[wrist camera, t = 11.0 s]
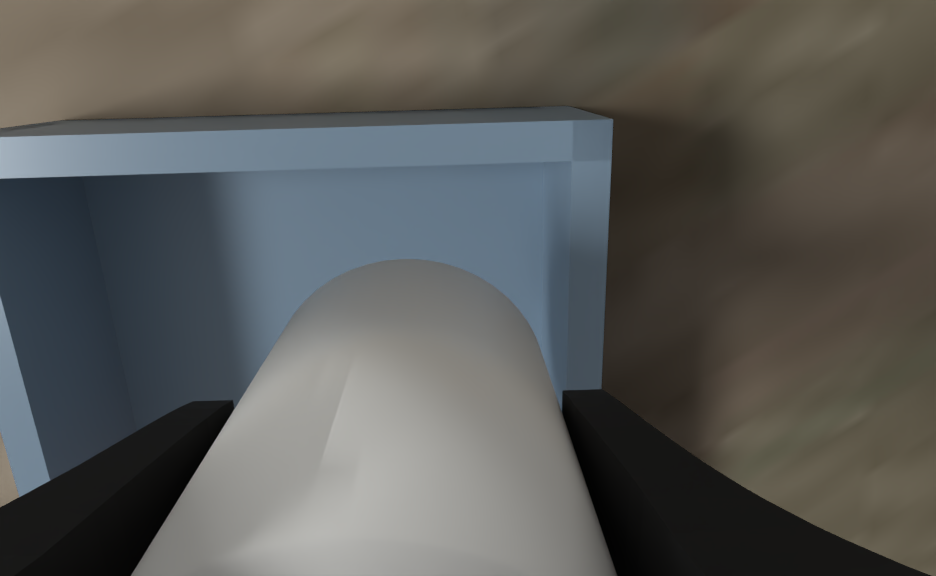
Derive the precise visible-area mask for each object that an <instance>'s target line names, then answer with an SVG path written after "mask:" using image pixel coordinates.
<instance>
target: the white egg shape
mask: <svg viewBox="0 0 936 576" xmlns="http://www.w3.org/2000/svg"><path fill="white" fill-rule="evenodd" d="M131 576H617V574H616V571H615V568H614V565H613V562H612V559H611V556H610V553H609V550H608V547H607V544H606V541H605V538H604V535H603V532H602V529H601V526H600V523H599V520H598V517H597V514H596V512H595V509H594V506H593V503H592V500H591V497H590V494H589V491H588V488H587V485H586V482H585V479H584V476H583V473H582V470H581V467H580V464H579V461H578V458H577V455H576V452H575V449H574V447H573V444H572V441H571V438H570V435H569V432H568V429H567V426H566V423H565V420H564V417H563V414H562V411H561V408H560V405H559V402H558V399H557V396H556V393H555V390H554V387H553V384H552V382H551V379H550V376H549V373H548V370H547V367H546V364H545V361H544V358H543V355H542V352H541V349H540V346H539V343H538V341H537V338H536V336H535V334H534V332H533V330H532V328H531V326H530V325H529V323H528V321H527V320H526V319H525V317H524V316H523V314H522V313H521V312H520V310H519V309H518V308H517V307H516V306H515V305H514V304H513V303H512V302H511V301H510V299H509V298H508V297H507V296H505V295H504V294H503V293H502V292H500V291H499V290H498V289H497V288H495V287H494V286H493V285H491V284H490V283H488V282H486V281H485V280H483V279H482V278H480V277H478V276H476V275H474V274H472V273H470V272H467V271H465V270H463V269H461V268H458V267H454V266H451V265H448V264H444V263H440V262H434V261H428V260H420V259H396V260H385V261H380V262H376V263H371V264H366V265H364V266H361V267H358V268H355V269H352V270H349V271H347V272H345V273H343V274H341V275H339V276H337V277H335V278H334V279H332V280H330V281H329V282H327V283H326V284H325V285H323V286H322V287H320V288H319V289H317V290H316V291H315V292H314V293H313V294H312V295H311V296H310V297H309V298H308V299H306V300H305V301H304V302H303V304H302V305H301V306H300V307H299V308H298V310H297V311H296V312H295V313H294V315H293V316H292V318H291V319H290V321H289V322H288V324H287V326H286V327H285V329H284V330H283V332H282V334H281V335H280V337H279V338H278V340H277V342H276V343H275V345H274V347H273V348H272V350H271V351H270V353H269V355H268V356H267V358H266V359H265V361H264V363H263V364H262V366H261V367H260V369H259V371H258V372H257V374H256V375H255V377H254V379H253V380H252V382H251V383H250V385H249V387H248V388H247V390H246V392H245V393H244V395H243V396H242V398H241V400H240V401H239V403H238V404H237V406H236V408H235V409H234V411H233V412H232V414H231V416H230V417H229V419H228V420H227V422H226V424H225V425H224V427H223V428H222V430H221V432H220V433H219V435H218V436H217V438H216V440H215V441H214V443H213V445H212V446H211V448H210V449H209V451H208V453H207V454H206V456H205V457H204V459H203V461H202V462H201V464H200V465H199V467H198V469H197V470H196V472H195V473H194V475H193V477H192V478H191V480H190V481H189V483H188V485H187V486H186V488H185V490H184V491H183V493H182V494H181V496H180V498H179V499H178V501H177V502H176V504H175V506H174V507H173V509H172V510H171V512H170V514H169V515H168V517H167V518H166V520H165V522H164V523H163V525H162V526H161V528H160V530H159V531H158V533H157V534H156V536H155V538H154V539H153V541H152V543H151V544H150V546H149V547H148V549H147V551H146V552H145V554H144V555H143V557H142V559H141V560H140V562H139V563H138V565H137V567H136V568H135V570H134V571H133V573H132V575H131Z"/></svg>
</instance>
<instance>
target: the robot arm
mask: <svg viewBox="0 0 936 576" xmlns="http://www.w3.org/2000/svg"><path fill="white" fill-rule="evenodd" d="M233 411H234V403H233V400H217V401H192V402H190V403H188V404H185V405H183V406H181V407H179V408H177V409H175V410H173V411H171V412H169V413H168V414H166V415H164V416H162V417H160V418H159V419H157V420H155V421H153V422H152V423H150V424H148V425H146V426H145V427H143V428H141V429H140V430H138V431H136V432H134V433H133V434H131V435H129V436H128V437H126V438H124V439H122V440H121V441H119V442H117V443H116V444H114V445H112V446H110V447H109V448H107V449H105V450H104V451H102V452H100V453H98V454H97V455H95V456H93V457H92V458H90V459H88V460H86V461H85V462H83V463H81V464H80V465H78V466H76V467H74V468H72V469H70V470H69V471H67V472H65V473H63V474H61V475H59V476H58V477H56V478H54V479H52V480H50V481H48V482H46V483H45V484H43V485H41V486H39V487H37V488H35V489H34V490H32V491H30V492H28V493H26V494H24V495H23V496H21V497H19V498H17V499H15V500H13V501H11V502H10V503H8V504H6V505H4V506H2V507H0V576H131V575H132V573H133V571H134V570H135V568H136V567H137V565H138V563H139V562H140V560H141V559H142V557H143V555H144V554H145V552H146V551H147V549H148V547H149V546H150V544H151V543H152V541H153V539H154V538H155V536H156V534H157V533H158V531H159V530H160V528H161V526H162V525H163V523H164V522H165V520H166V518H167V517H168V515H169V514H170V512H171V510H172V509H173V507H174V506H175V504H176V502H177V501H178V499H179V498H180V496H181V494H182V493H183V491H184V490H185V488H186V486H187V485H188V483H189V481H190V480H191V478H192V477H193V475H194V473H195V472H196V470H197V469H198V467H199V465H200V464H201V462H202V461H203V459H204V457H205V456H206V454H207V453H208V451H209V449H210V448H211V446H212V445H213V443H214V441H215V440H216V438H217V436H218V435H219V433H220V432H221V430H222V428H223V427H224V425H225V424H226V422H227V420H228V419H229V417H230V416H231V414H232V412H233ZM562 414H563V417H564V420H565V423H566V426H567V429H568V432H569V435H570V438H571V441H572V444H573V447H574V449H575V452H576V455H577V458H578V461H579V464H580V467H581V470H582V473H583V476H584V479H585V482H586V485H587V488H588V491H589V494H590V497H591V500H592V503H593V506H594V509H595V512H596V514H597V517H598V520H599V523H600V526H601V529H602V532H603V535H604V538H605V541H606V544H607V547H608V550H609V553H610V556H611V559H612V562H613V565H614V568H615V571H616V574H617V576H931V575H928V574H925V573H923V572H920V571H918V570H915V569H912V568H910V567H907V566H905V565H902V564H900V563H898V562H895V561H893V560H891V559H888V558H886V557H884V556H882V555H879V554H877V553H875V552H872V551H870V550H868V549H865V548H863V547H861V546H858V545H856V544H854V543H851V542H849V541H847V540H845V539H842V538H840V537H838V536H836V535H834V534H832V533H830V532H828V531H825V530H823V529H821V528H819V527H817V526H815V525H813V524H811V523H809V522H807V521H805V520H803V519H801V518H799V517H797V516H796V515H794V514H792V513H790V512H788V511H786V510H784V509H782V508H780V507H778V506H776V505H775V504H773V503H771V502H769V501H767V500H765V499H763V498H762V497H760V496H758V495H756V494H754V493H753V492H751V491H749V490H747V489H746V488H744V487H742V486H741V485H739V484H738V483H736V482H734V481H733V480H731V479H730V478H728V477H726V476H725V475H723V474H722V473H720V472H718V471H717V470H715V469H714V468H712V467H710V466H709V465H707V464H706V463H704V462H703V461H701V460H700V459H698V458H697V457H695V456H694V455H692V454H691V453H689V452H688V451H686V450H685V449H683V448H682V447H681V446H679V445H678V444H676V443H675V442H674V441H672V440H671V439H669V438H668V437H667V436H665V435H664V434H662V433H661V432H660V431H658V430H657V429H656V428H654V427H653V426H652V425H650V424H649V423H647V422H646V421H645V420H644V419H642V418H641V417H640V416H638V415H637V414H636V413H634V412H633V411H632V410H630V409H629V408H628V407H626V406H625V405H624V404H622V403H621V402H620V401H618V400H617V399H615V398H614V397H613V396H611V395H610V394H608V393H607V392H605V391H604V390H602V389H592V390H563V391H562Z"/></svg>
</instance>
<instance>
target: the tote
mask: <svg viewBox="0 0 936 576" xmlns="http://www.w3.org/2000/svg"><path fill="white" fill-rule="evenodd" d="M612 137H613V119H611V118H607V117H604V116H601V115H597V114H594V113H590V112H587V111H584V110H580V109H577V108H574V107H570V106H549V107H514V108H479V109H444V110H409V111H375V112H340V113H305V114H270V115H235V116H200V117H165V118H130V119H95V120H60V121H53V122H45V123H38V124H30V125H22V126H15V127H7V128H0V432H1V435H2V438H3V442H4V445H5V449H6V452H7V456H8V459H9V462H10V466H11V469H12V473H13V476H14V480H15V483H16V486H17V490H18V493H19V497H21V496H23V495H24V494H26V493H28V492H30V491H32V490H34V489H35V488H37V487H39V486H41V485H43V484H45V483H46V482H48V481H50V480H52V479H54V478H56V477H58V476H59V475H61V474H63V473H65V472H67V471H69V470H70V469H72V468H74V467H76V466H78V465H80V464H81V463H83V462H85V461H86V460H88V459H90V458H92V457H93V456H95V455H97V454H98V453H100V452H102V451H104V450H105V449H107V448H109V447H110V446H112V445H114V444H116V443H117V442H119V441H121V440H122V439H124V438H126V437H128V436H129V435H131V434H133V433H134V432H136V431H138V430H140V429H141V428H143V427H145V426H146V425H148V424H150V423H152V422H153V421H155V420H157V419H159V418H160V417H162V416H164V415H166V414H168V413H169V412H171V411H173V410H175V409H177V408H179V407H181V406H183V405H185V404H188V403H190V402H192V401H217V400H233V403H234V409H235V408H236V406H237V404H238V403H239V401H240V400H241V398H242V396H243V395H244V393H245V392H246V390H247V388H248V387H249V385H250V383H251V382H252V380H253V379H254V377H255V375H256V374H257V372H258V371H259V369H260V367H261V366H262V364H263V363H264V361H265V359H266V358H267V356H268V355H269V353H270V351H271V350H272V348H273V347H274V345H275V343H276V342H277V340H278V338H279V337H280V335H281V334H282V332H283V330H284V329H285V327H286V326H287V324H288V322H289V321H290V319H291V318H292V316H293V315H294V313H295V312H296V311H297V310H298V308H299V307H300V306H301V305H302V304H303V302H304V301H305V300H306V299H308V298H309V297H310V296H311V295H312V294H313V293H314V292H315V291H316V290H317V289H319V288H320V287H322V286H323V285H325V284H326V283H327V282H329V281H330V280H332V279H334V278H335V277H337V276H339V275H341V274H343V273H345V272H347V271H349V270H352V269H355V268H358V267H361V266H364V265H366V264H371V263H376V262H380V261H385V260H396V259H420V260H428V261H434V262H440V263H444V264H448V265H451V266H454V267H458V268H461V269H463V270H465V271H467V272H470V273H472V274H474V275H476V276H478V277H480V278H482V279H483V280H485V281H486V282H488V283H490V284H491V285H493V286H494V287H495V288H497V289H498V290H499V291H500V292H502V293H503V294H504V295H505V296H507V297H508V298H509V299H510V301H511V302H512V303H513V304H514V305H515V306H516V307H517V308H518V309H519V310H520V312H521V313H522V314H523V316H524V317H525V319H526V320H527V321H528V323H529V325H530V326H531V328H532V330H533V332H534V334H535V336H536V338H537V341H538V343H539V346H540V349H541V352H542V355H543V358H544V361H545V364H546V367H547V370H548V373H549V376H550V379H551V382H552V384H553V387H554V390H555V393H556V396H557V399H558V402H559V405H560V408H561V411H562V391H563V390H592V389H601V386H602V363H603V341H604V318H605V295H606V273H607V250H608V227H609V205H610V182H611V159H612Z"/></svg>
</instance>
